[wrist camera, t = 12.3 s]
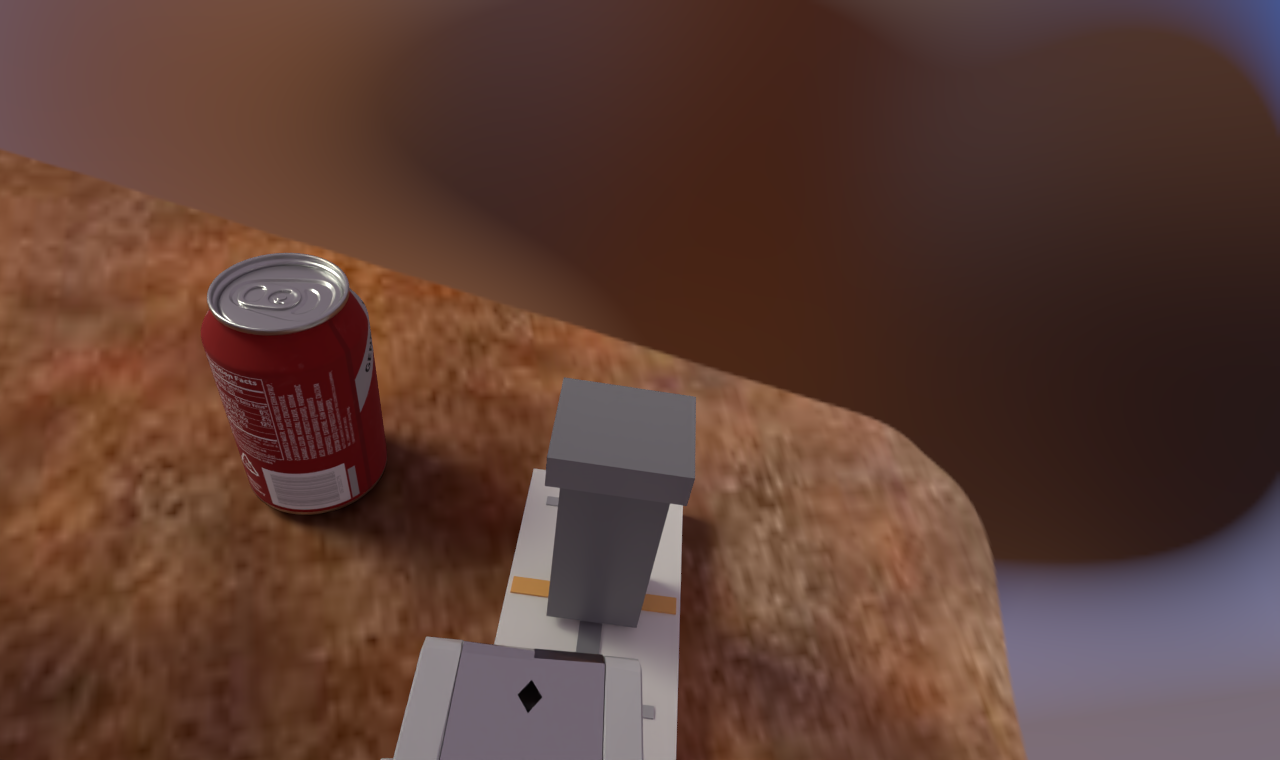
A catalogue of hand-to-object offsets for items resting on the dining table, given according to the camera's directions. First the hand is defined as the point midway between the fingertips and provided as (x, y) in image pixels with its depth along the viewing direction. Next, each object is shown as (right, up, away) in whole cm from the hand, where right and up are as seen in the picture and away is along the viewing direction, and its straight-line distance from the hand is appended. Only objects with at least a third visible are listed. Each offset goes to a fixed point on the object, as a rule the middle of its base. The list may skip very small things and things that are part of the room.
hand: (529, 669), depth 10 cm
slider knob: (0, -6, +23) cm, 24 cm away
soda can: (-15, -1, +29) cm, 33 cm away
